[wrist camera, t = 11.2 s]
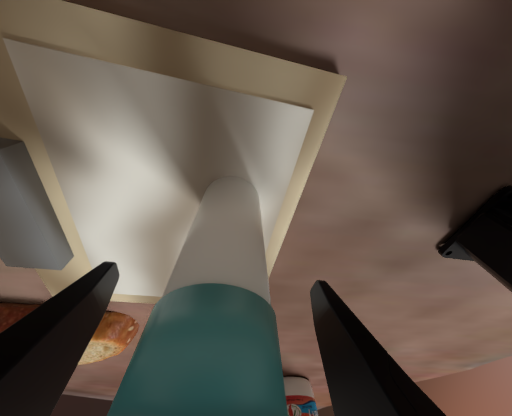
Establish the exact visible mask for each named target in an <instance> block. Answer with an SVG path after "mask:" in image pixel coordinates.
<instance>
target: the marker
mask: <svg viewBox="0 0 512 416" xmlns="http://www.w3.org/2000/svg"><path fill="white" fill-rule="evenodd" d="M107 416H288V411H287V403H286V395H285V387H284V379H283V371H282V363H281V355H280V347H279V339H278V331H277V323H276V315H275V312H274V310H273V308H272V307H271V302H270V292H269V283H268V274H267V265H266V256H265V246H264V237H263V228H262V219H261V210H260V201H259V195H258V193H257V191H256V189H255V188H254V186H253V185H252V184H251V183H249V182H248V181H246V180H244V179H242V178H239V177H234V176H227V177H222V178H219V179H217V180H215V181H213V182H212V183H211V184H210V185H209V186H208V188H207V189H206V191H205V193H204V196H203V198H202V201H201V203H200V206H199V208H198V211H197V213H196V215H195V218H194V220H193V223H192V225H191V228H190V230H189V233H188V235H187V237H186V240H185V242H184V245H183V247H182V250H181V252H180V254H179V257H178V259H177V262H176V264H175V267H174V269H173V272H172V274H171V276H170V279H169V281H168V284H167V286H166V289H165V291H164V294H163V296H162V298H161V299H160V300H159V301H158V302H157V303H156V304H155V306H154V308H153V310H152V312H151V314H150V317H149V319H148V321H147V324H146V326H145V328H144V331H143V333H142V335H141V338H140V340H139V342H138V345H137V347H136V349H135V352H134V354H133V356H132V359H131V361H130V363H129V366H128V368H127V370H126V373H125V375H124V377H123V380H122V382H121V384H120V387H119V389H118V391H117V394H116V396H115V398H114V401H113V403H112V405H111V408H110V410H109V412H108V415H107Z"/></svg>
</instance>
